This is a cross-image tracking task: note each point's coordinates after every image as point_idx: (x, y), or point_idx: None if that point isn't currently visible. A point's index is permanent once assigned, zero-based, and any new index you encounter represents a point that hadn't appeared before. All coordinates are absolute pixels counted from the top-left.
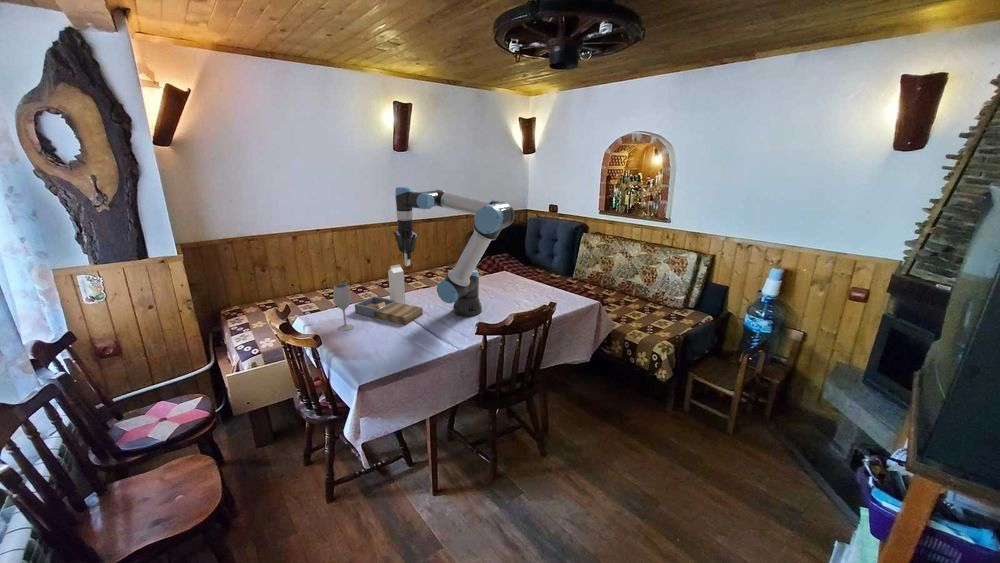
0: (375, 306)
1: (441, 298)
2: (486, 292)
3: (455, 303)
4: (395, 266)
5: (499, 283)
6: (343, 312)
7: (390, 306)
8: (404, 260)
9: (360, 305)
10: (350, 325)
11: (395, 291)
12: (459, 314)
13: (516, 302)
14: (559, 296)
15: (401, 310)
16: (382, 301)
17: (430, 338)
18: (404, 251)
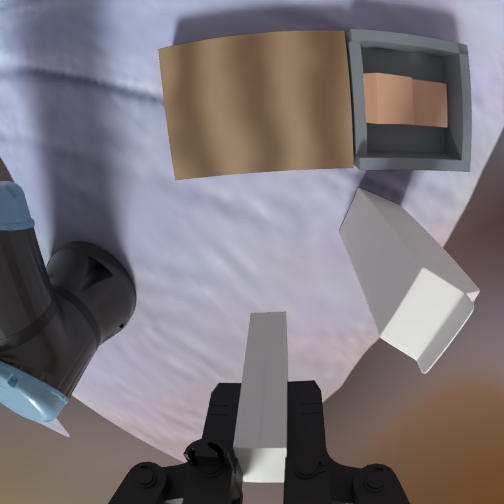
0: (387, 74)
1: (7, 181)
2: (162, 413)
3: (96, 280)
4: (444, 336)
5: None
6: None
7: (324, 108)
8: (285, 357)
9: (441, 43)
10: None
11: (377, 216)
12: (77, 243)
13: None
14: None
15: (235, 96)
16: (410, 155)
17: (41, 49)
18: (284, 479)
